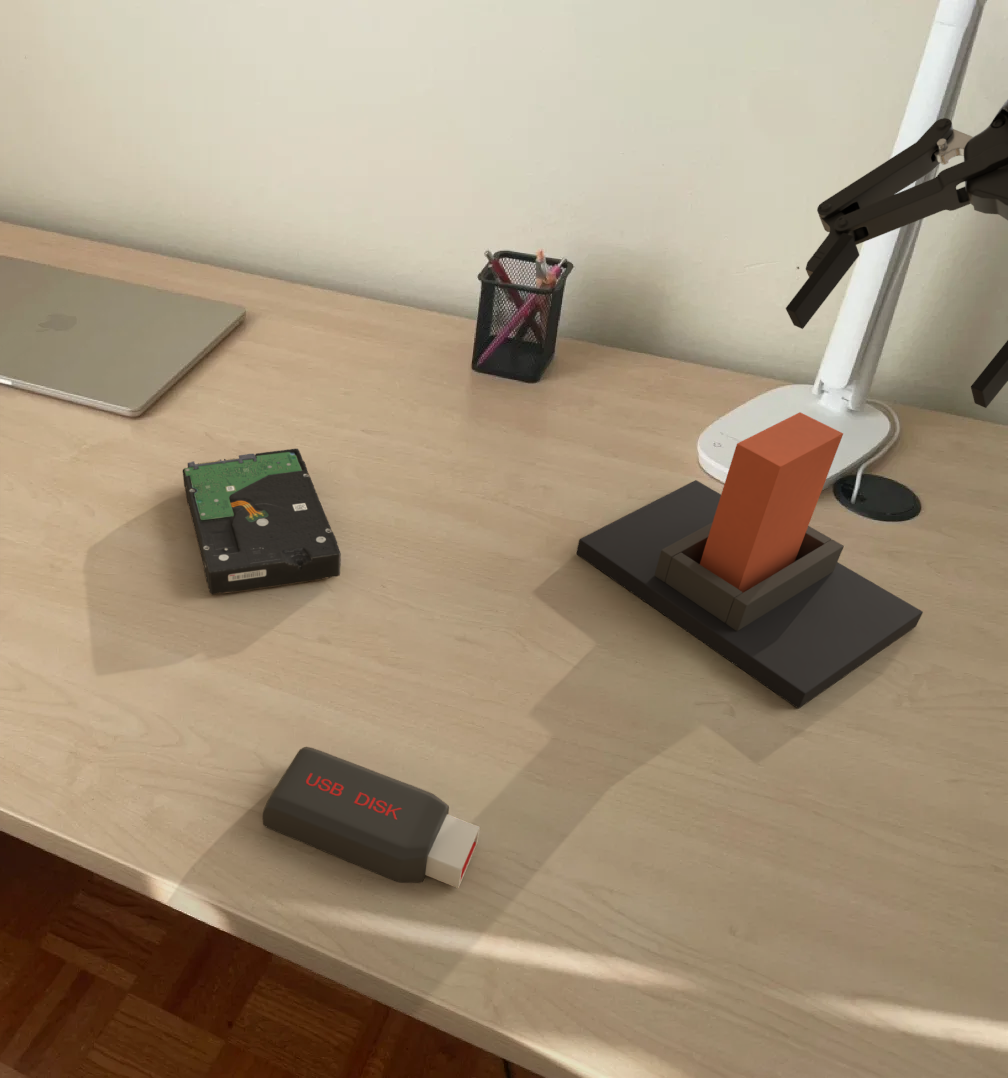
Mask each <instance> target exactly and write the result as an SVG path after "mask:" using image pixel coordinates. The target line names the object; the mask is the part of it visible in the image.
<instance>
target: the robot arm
mask: <svg viewBox="0 0 1008 1078" xmlns="http://www.w3.org/2000/svg"><path fill="white" fill-rule="evenodd" d="M959 156H962V157H963V161H961V162H959V163H956V164H955V165H951V166H950V167H947V168H945V169H943V170H941V171H940V172H938V174H937V176H935V177H934V178H931V179H929V180H926V181H924V182H922V183H919V184H916V185H914V186H912V187H909V186H910V185H912V184H914V183H916V182H917V181H919V180H920V179H922V178H923V177H925V176H926V175H927V174H930V173H931V172H932V171H933V170H934V169H936V168H937V167H938V166H939V165H940V164H941V165H942V166H943V165H944V166H945V165H947V164H949V163H950V161H951V160H952V159H953V158H956V157H959ZM962 183H964V186H963V187H960V188H957V186H958V185H960V184H962ZM908 187H909V188H908ZM906 188H907V189H906ZM969 205H971V206H972V207H973V210H974V211H976V212H979V213H983V214H985V215H998V216H1000V217H1002V218H1003V219H1005V220H1007V221H1008V98H1007V99H1006V101H1005V102H1003V104H1002V106H1001V107H1000V108H999V110H998V111H997V113H996V114H995V116H994V117H993V119H992V121H991V122H990V124H989V125H988V126H987V127H986V128H985V129H984V130H982V131H981V132H979V133H977V134H975V135H973V136H972V135H970V134H968V133H965V132H962V131H959V130H957V129H955V128H954V127H953V122H952V119H949V118H946V117H943V118H940V119H937V120H936V121H934V122H933V124H932V125H931V126H930V127H928V129H927V130H926V131H925V132H924V133H923V135H921V136H920V138H919V139H918V140H917V141H916V142H914V143H913V144H911V145H910V146H908V147H906V148H905V149H903V150H902V151H900V152H899V153H897V154H896V155H894V156H893V157H891V158H889V159H888V160H886V161H884V162H882V163H881V164H880V165H878V166H877V167H875V168H873V169H872V170H870V171H869V172H868V173H865V174H864V175H863V176H861V177H860V178H858V179H857V180H855V181H853V182H852V183H850V184H848V185H847V186H845V187H844V188H842V189H841V190H839V191H838V192H836V193H834V194H833V195H831V196H829V198H827V199H825V200H824V201H822V202H821V203H819V205H817V209H816V212H817V214H818V216H819V219H820V222H821V224H822V227H823V229H824V231H826V232H827V233H828V235H827V236H826V237H825V238H824V240H823V241H822V242H821V243H820V245H819V246H818V248H817V249H816V251H815V252H814V253H813V254H812V255H811V257H810V258H809V259H808V260H807V262H806V266H805V271H806V274H807V276H808V278H807V280H805V282H804V283H803V285H802V286H801V287H800V289H799V290H798V291H797V293H796V294H795V295H794V296H793V298H792V299H791V300H790V302H789V303H788V304H787V305H786V307H785V310H786V313H787V314H788V316H789V319H790V321H791V322H792V324H793V326H795V327H797V328H799V329H802V330H803V329H804V328H805V327H806V326H807V324H808V323H809V322H810V320H811V319H812V318H813V317H814V315H815V314H816V313H817V312H818V310H819V309H820V308H821V306H822V305H823V304H824V302H825V301H826V300H827V298H828V297H829V296H830V294H832V292H833V290H834V289H835V288H836V287H837V285H838V284H839V283H840V281H841V280H842V279H843V278H844V276H845V275H846V274H847V272H848V271H849V270H850V268H851V267H852V266H853V265H854V263H855V262H856V260H857V259H858V258H859V257H860V252H859V250H858V249H859V248H858V247H857V245H860V244H863V243H865V242H867V241H870V240H872V239H875V238H878V237H880V236H882V235H885V234H887V233H890V232H892V231H895V230H898V229H900V228H903V227H906V226H908V225H910V224H912V223H915V222H918V221H920V220H923V219H925V218H928V217H931V216H933V215H935V214H938V213H940V212H943V211H950V212H951V211H957V210H958V209H961V208H963V207H966V206H969ZM1006 384H1008V339H1006V341H1005V342H1004V344H1003V346H1001V348H1000V349H999V350H998V351H997V353H996V354H995V356H994V357H993V358H992V359H991V360H990V361H989V363H988V364H986V367H985V368H984V369H983V370H982V371H981V373H980V374H979V375H978V376H977V377H976V379H975V380H974V381H973V383H972V384H971V386H970V390H971V395H972V398H973V401H974V404H975V405H978V406H980V407H982V408H984V409H987V407H989V405H990V404H991V403H992V402H993V400H994V399H995V398H996V396H998V394H999V393H1000V392H1001V390H1002V389H1003V388H1004V387H1005V385H1006Z"/></svg>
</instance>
